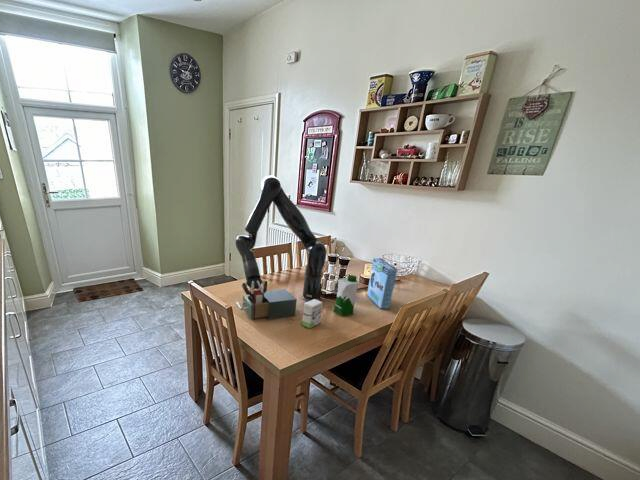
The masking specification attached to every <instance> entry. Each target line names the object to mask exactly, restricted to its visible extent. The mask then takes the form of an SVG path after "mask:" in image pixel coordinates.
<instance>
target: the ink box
mask: <svg viewBox="0 0 640 480" xmlns="http://www.w3.org/2000/svg"><path fill="white" fill-rule="evenodd" d="M322 310H323V301H320V300H316V299H313V300H311V301H307V302H304V304H303V312H302V323H301V326H303V327H306V328H307V329H311V328H313V327H315V326H317V325H319V324H320V323H321V317H322Z"/></svg>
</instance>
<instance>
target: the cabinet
mask: <svg viewBox="0 0 640 480" xmlns="http://www.w3.org/2000/svg"><path fill="white" fill-rule="evenodd" d="M264 298H265V299H266V300H267V301H268V302H269V314H268V316H266V317H265V318H267V319H268V320H275V319H276V320H277V319H284V318H291V317H295V316H296V311H297V300H298V299H297V298H296V297H295V296H294V295H293V294H292V293H290V292H289V291H288V289H286V288H279V289H270V290H269V289H268V290H267V291H266V292H265V293H264Z"/></svg>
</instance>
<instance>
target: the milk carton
mask: <svg viewBox="0 0 640 480" xmlns="http://www.w3.org/2000/svg"><path fill="white" fill-rule="evenodd" d="M359 286H360V282H359V281H358V280H357V276H356V275H353V274H351V275H348V277H345V278H344V277H343V278H339V279H337V291H338V292H337V291H336V292H337V293H336V299H335V304H334V308H333V312H335V313H336V314H338V315H339V316H340V317H346V316H351V315H354V308H355V302H356V296H357V291H358V290H357V288H359Z"/></svg>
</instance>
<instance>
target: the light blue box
mask: <svg viewBox="0 0 640 480" xmlns="http://www.w3.org/2000/svg"><path fill="white" fill-rule="evenodd" d="M397 272H398V269H397V268H396V267H394V266H393V265H391V263H389V262H387V261H386V260H384V259H383V258H381V257H375V258H374V257H373V259H372V265H371V272H370V276H369V281H368V286H367V287H368V288H367V292H366V296H367V297H368V298H369V299H370V300H371V301H373V303H374V304H375V305H376V306H377V307H378V308H379V309H380V310H389V309H390V305H391V301H392V296H393V292H394V287H395V283H396V282H395V280H396V279H397V278H396V277H397V274H398V273H397Z"/></svg>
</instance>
